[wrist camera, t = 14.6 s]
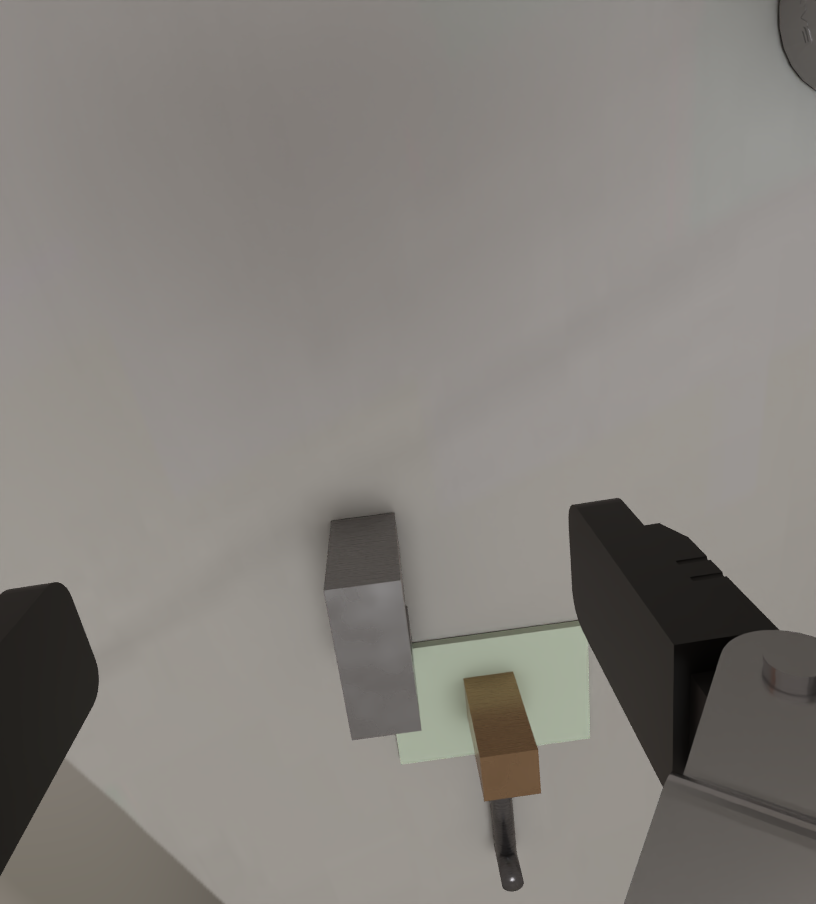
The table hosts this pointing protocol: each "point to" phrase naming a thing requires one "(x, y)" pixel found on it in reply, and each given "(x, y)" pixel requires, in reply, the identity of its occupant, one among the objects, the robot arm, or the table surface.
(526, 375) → the table surface
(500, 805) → the wooden head mallet
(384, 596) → the slotted metal block
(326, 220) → the table surface
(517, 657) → the mat
